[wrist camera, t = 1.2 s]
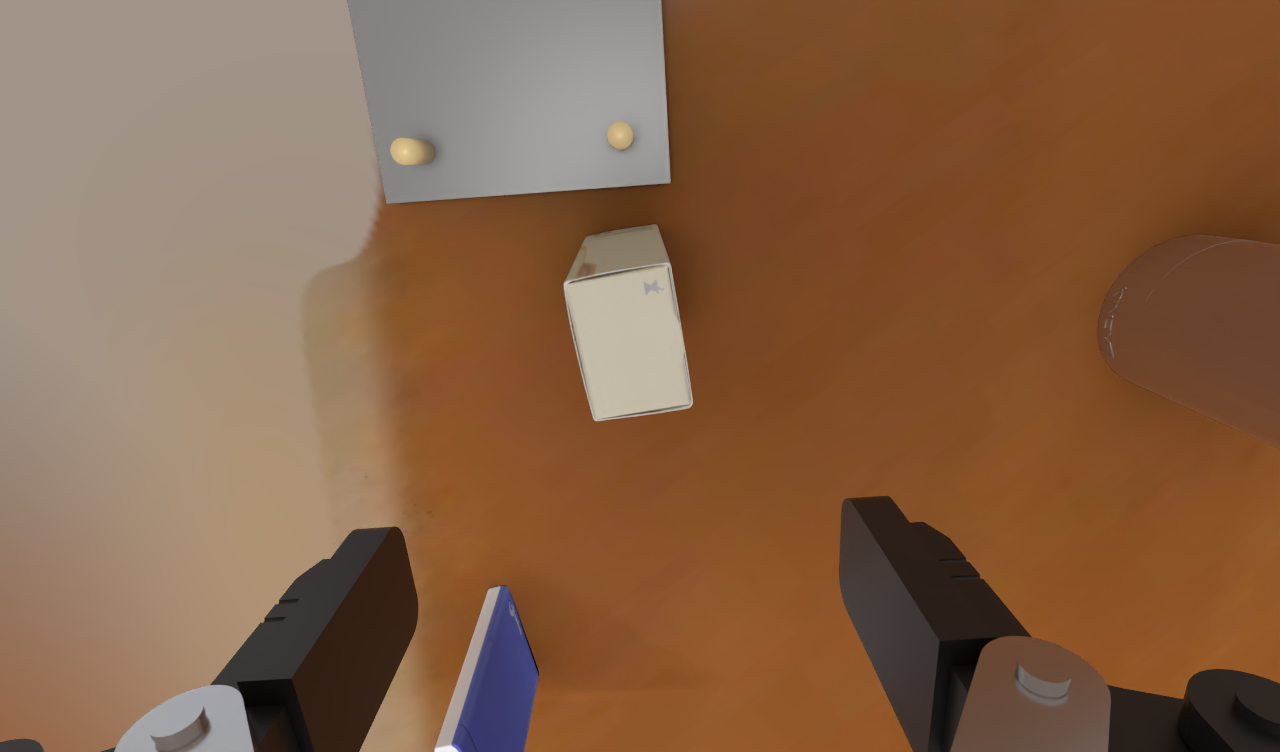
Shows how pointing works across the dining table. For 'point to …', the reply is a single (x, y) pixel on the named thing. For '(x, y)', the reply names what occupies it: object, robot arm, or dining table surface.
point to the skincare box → (627, 325)
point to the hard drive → (493, 684)
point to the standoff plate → (513, 95)
